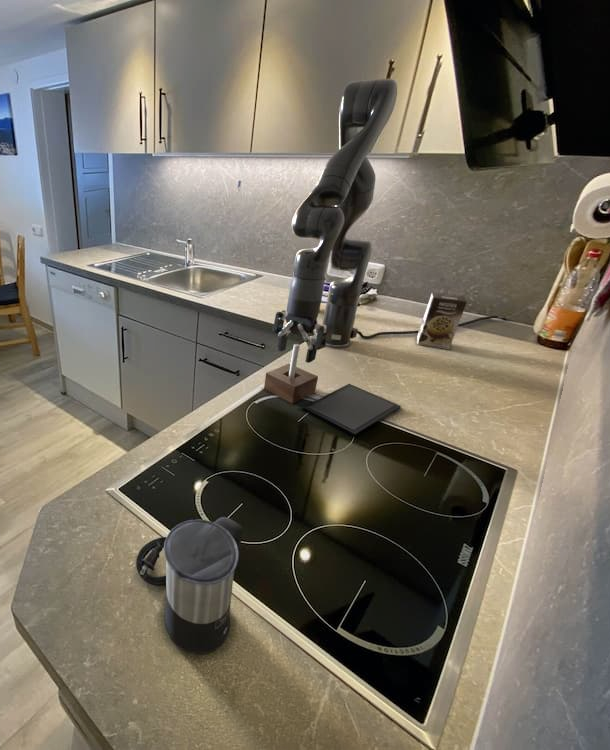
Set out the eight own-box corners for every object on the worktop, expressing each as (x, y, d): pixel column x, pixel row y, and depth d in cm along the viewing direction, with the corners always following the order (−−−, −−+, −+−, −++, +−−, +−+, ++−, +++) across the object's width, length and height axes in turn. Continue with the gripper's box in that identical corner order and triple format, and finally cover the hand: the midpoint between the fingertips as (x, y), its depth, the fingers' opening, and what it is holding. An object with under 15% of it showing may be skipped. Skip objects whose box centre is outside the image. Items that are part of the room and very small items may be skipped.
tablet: (348, 386, 114) (349, 383, 113) (400, 408, 103) (401, 405, 103) (302, 409, 104) (302, 406, 103) (354, 437, 93) (355, 433, 93)
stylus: (288, 389, 113) (296, 343, 106) (292, 391, 112) (300, 345, 105) (285, 390, 112) (292, 344, 106) (289, 392, 111) (297, 346, 105)
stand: (286, 379, 118) (288, 363, 115) (314, 392, 111) (318, 376, 108) (263, 388, 113) (265, 372, 111) (292, 403, 106) (295, 386, 104)
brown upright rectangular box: (417, 344, 137) (432, 297, 129) (416, 337, 142) (431, 291, 134) (449, 349, 133) (467, 301, 125) (448, 342, 138) (464, 295, 130)
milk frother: (221, 668, 52) (231, 594, 45) (109, 623, 57) (102, 550, 50) (242, 573, 64) (252, 503, 57) (147, 543, 69) (145, 475, 62)
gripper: (341, 299, 96) (328, 362, 104) (291, 285, 106) (282, 343, 114) (321, 305, 92) (309, 370, 100) (271, 290, 103) (263, 350, 110)
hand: (295, 355), depth 107 cm, fingers open, 8 cm apart
